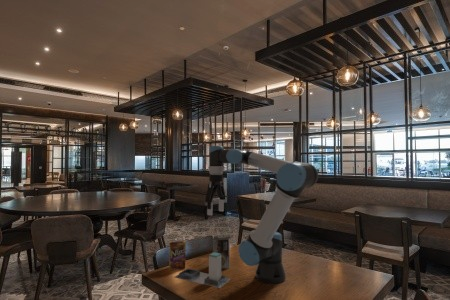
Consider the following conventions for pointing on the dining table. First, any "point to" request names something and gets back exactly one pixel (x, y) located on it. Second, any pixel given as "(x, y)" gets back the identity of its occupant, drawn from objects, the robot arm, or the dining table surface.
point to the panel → (201, 278)
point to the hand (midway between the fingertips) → (215, 213)
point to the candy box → (177, 254)
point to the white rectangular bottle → (215, 266)
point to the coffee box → (222, 250)
